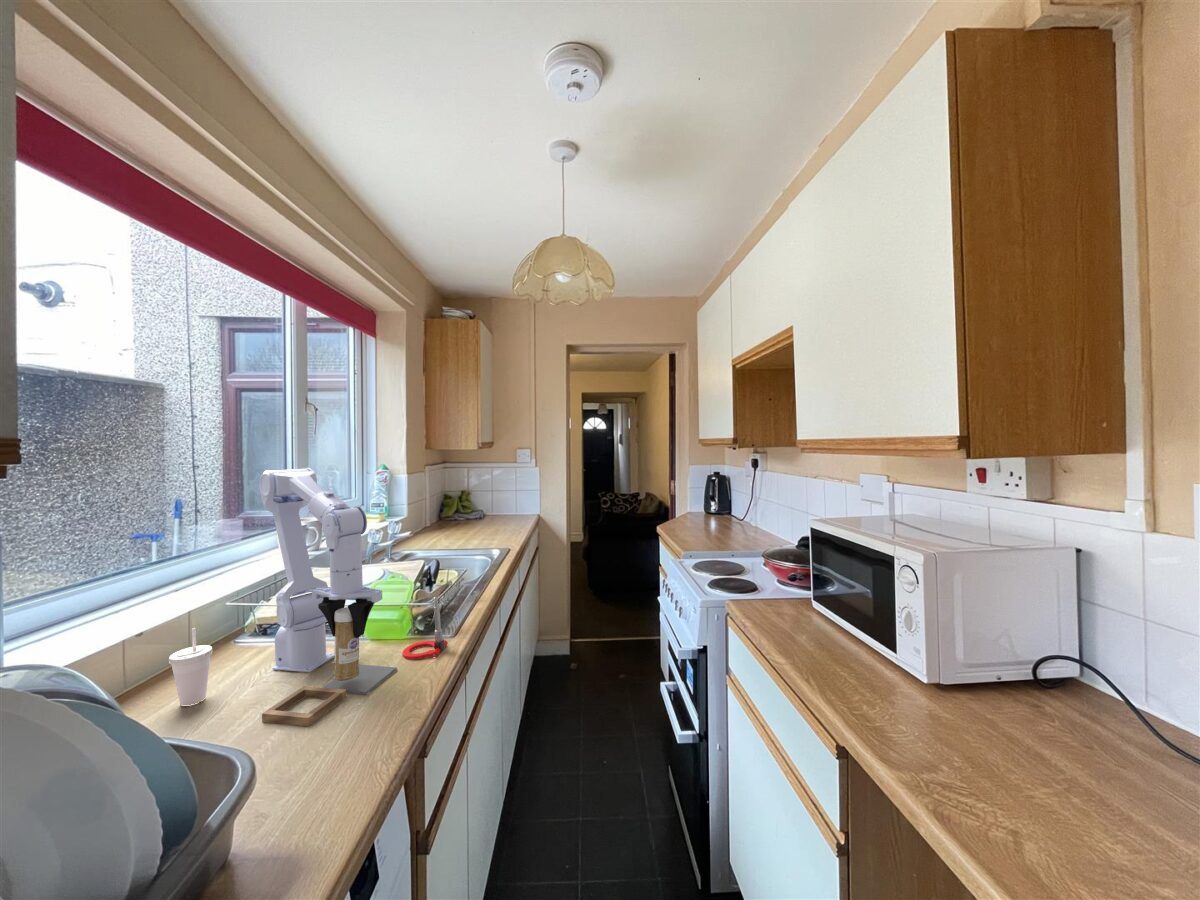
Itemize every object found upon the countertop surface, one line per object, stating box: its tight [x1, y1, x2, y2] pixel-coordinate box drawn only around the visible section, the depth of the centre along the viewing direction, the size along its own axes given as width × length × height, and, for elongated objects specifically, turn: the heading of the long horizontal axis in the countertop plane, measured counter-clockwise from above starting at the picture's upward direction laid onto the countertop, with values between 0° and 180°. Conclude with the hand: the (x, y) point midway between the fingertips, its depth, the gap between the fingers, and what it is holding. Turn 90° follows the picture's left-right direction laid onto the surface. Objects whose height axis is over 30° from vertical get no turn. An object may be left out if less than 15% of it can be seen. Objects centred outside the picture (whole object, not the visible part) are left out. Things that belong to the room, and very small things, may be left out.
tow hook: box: [401, 596, 449, 660], centre depth 111 cm, size 8×13×9 cm
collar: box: [261, 685, 348, 727], centre depth 88 cm, size 9×9×2 cm
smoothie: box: [168, 627, 213, 705], centre depth 91 cm, size 6×6×14 cm
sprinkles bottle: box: [333, 606, 360, 681], centre depth 95 cm, size 5×5×13 cm
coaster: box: [322, 663, 398, 696], centre depth 98 cm, size 10×10×1 cm
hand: (348, 635), depth 96 cm, fingers closed on sprinkles bottle, 4 cm apart
